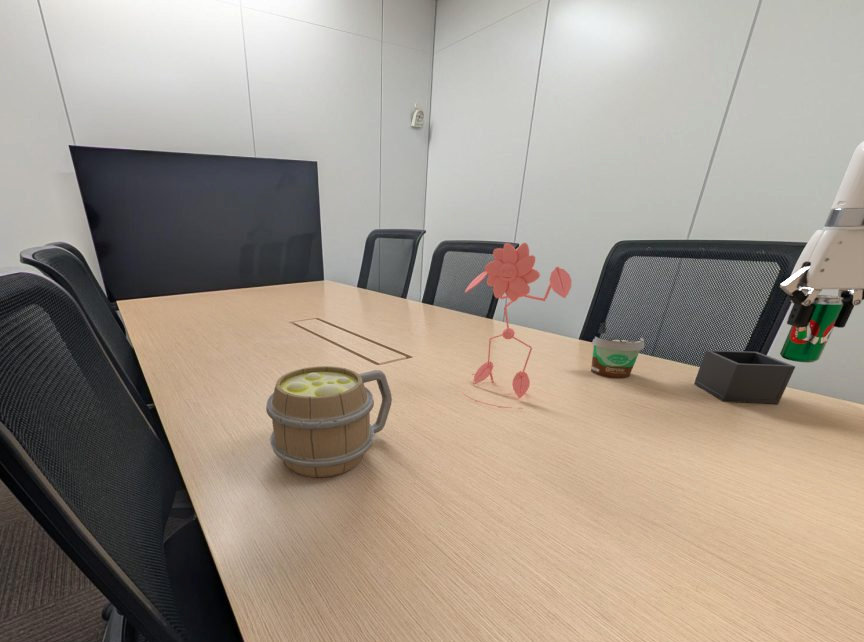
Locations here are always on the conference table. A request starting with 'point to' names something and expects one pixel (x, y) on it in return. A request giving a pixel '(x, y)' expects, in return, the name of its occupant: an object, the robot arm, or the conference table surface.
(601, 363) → the food container
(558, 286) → the figurine
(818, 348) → the soda can
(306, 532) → the conference table surface
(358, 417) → the mug
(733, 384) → the trash bin
